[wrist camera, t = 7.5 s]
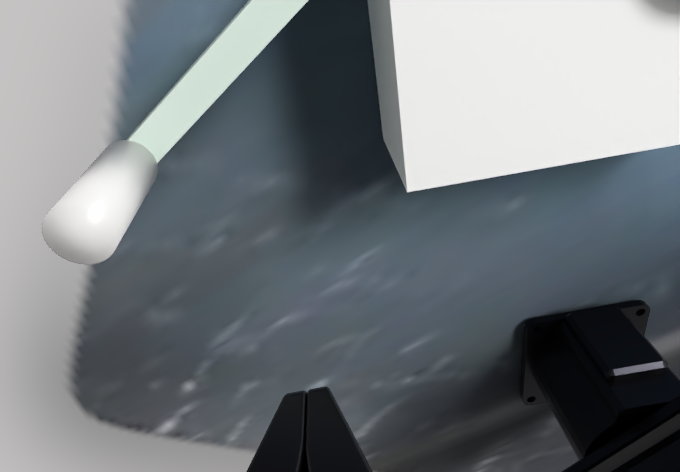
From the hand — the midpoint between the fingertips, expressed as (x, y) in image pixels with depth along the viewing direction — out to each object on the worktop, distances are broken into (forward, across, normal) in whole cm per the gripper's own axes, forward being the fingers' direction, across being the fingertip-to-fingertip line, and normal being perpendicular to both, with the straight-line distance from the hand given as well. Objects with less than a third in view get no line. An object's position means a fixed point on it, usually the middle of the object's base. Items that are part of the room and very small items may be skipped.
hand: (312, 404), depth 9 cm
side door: (+12, +2, -5) cm, 13 cm away
